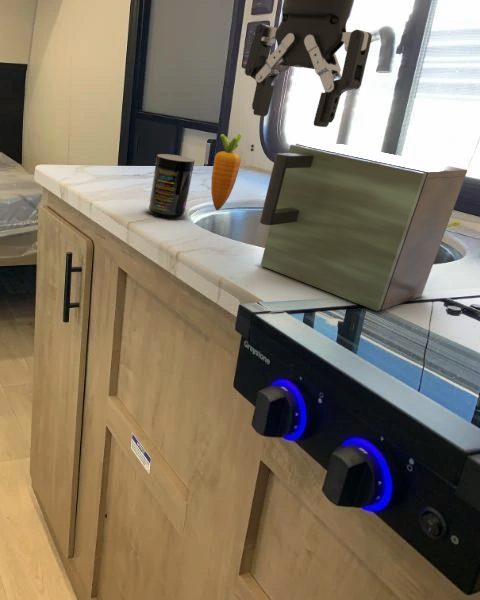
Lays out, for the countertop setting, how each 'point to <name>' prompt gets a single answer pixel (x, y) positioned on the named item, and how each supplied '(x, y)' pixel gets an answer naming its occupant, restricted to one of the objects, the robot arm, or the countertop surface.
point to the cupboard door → (338, 221)
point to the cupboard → (414, 219)
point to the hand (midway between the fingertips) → (288, 120)
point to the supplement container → (170, 186)
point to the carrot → (225, 171)
